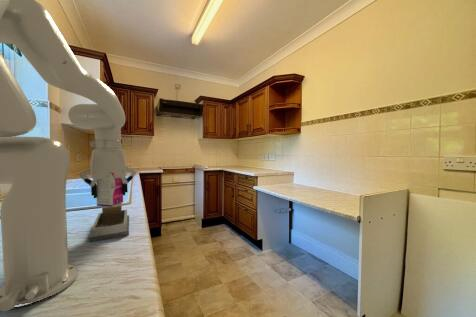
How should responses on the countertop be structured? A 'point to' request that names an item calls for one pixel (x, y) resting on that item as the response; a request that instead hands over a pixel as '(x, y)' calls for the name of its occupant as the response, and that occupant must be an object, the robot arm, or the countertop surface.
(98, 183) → the supplement box
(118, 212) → the grey open tray
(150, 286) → the countertop surface
